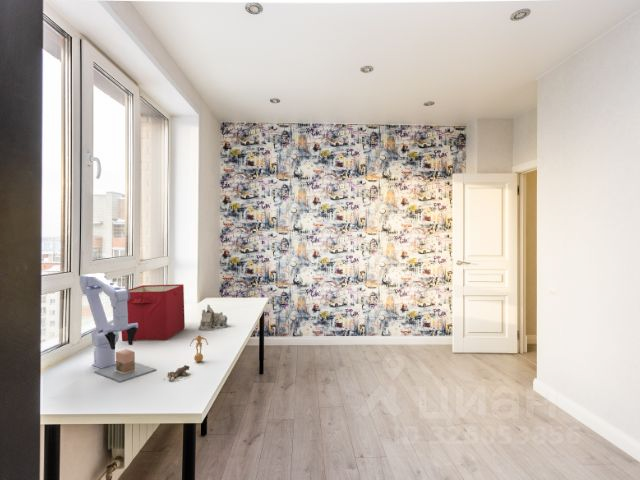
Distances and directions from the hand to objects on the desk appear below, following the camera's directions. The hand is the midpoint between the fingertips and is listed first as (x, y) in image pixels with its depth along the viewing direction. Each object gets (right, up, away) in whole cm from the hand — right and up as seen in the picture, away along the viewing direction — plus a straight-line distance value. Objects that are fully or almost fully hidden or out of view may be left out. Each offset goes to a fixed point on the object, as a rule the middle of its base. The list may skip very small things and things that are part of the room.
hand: (121, 347), depth 167 cm
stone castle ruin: (+19, -10, +76) cm, 79 cm away
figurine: (+31, -10, +10) cm, 34 cm away
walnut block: (+2, -10, -1) cm, 10 cm away
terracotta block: (+2, -6, -1) cm, 6 cm away
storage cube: (-13, -11, +63) cm, 65 cm away
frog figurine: (+28, -10, -9) cm, 31 cm away
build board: (+2, -10, -1) cm, 11 cm away
